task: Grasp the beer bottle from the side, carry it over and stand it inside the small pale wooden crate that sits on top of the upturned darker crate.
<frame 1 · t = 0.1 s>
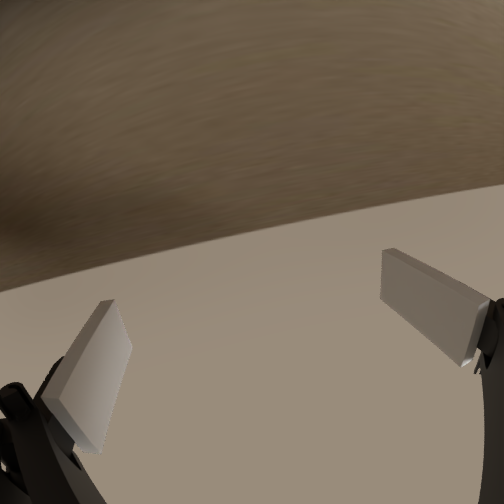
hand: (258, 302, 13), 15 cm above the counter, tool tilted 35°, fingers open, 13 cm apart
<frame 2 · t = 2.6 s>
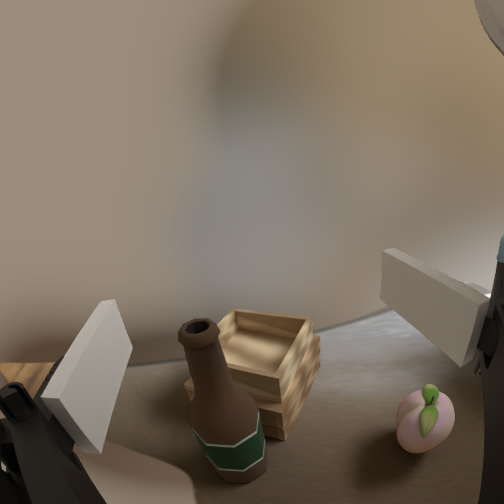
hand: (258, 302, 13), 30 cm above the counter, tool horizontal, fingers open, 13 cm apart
beer bottle: (241, 464, 31), on the counter
top crate: (256, 360, 43), resting on base crate
decorative fruit: (415, 441, 28), on the counter
base crate: (261, 390, 45), on the counter
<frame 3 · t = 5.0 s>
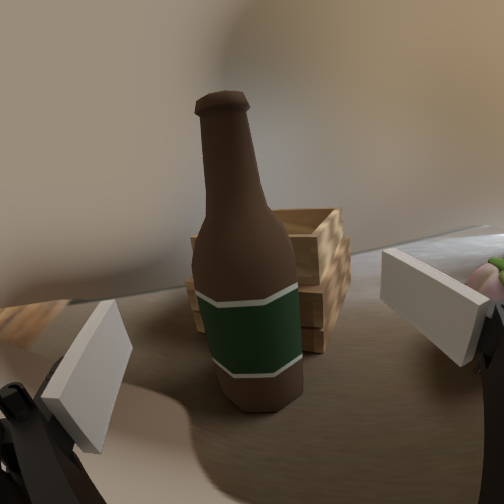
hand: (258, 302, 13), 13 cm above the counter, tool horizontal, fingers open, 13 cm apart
beer bottle: (264, 387, 24), on the counter
top crate: (277, 256, 36), resting on base crate
decorative fruit: (488, 344, 21), on the counter
base crate: (282, 305, 38), on the counter
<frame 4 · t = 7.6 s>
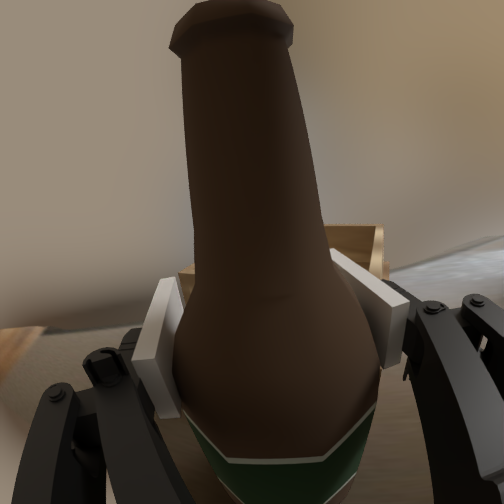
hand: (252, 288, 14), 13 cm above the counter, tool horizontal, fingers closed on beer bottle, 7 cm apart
beer bottle: (290, 488, 14), on the counter, touching gripper
top crate: (301, 294, 26), resting on base crate
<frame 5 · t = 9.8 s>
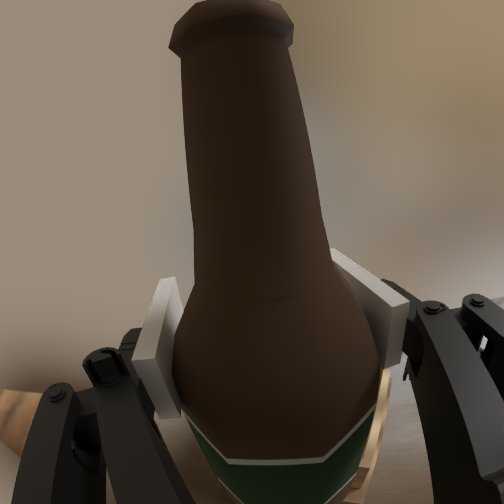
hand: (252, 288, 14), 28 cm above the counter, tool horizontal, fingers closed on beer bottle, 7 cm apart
beer bottle: (290, 488, 14), point 14 cm above the counter, touching gripper
top crate: (312, 422, 27), resting on base crate
base crate: (311, 452, 29), on the counter
when the fingers open (22 cm above the counter, at t = 12.3 s): beer bottle drops 1 cm, resting on top crate.
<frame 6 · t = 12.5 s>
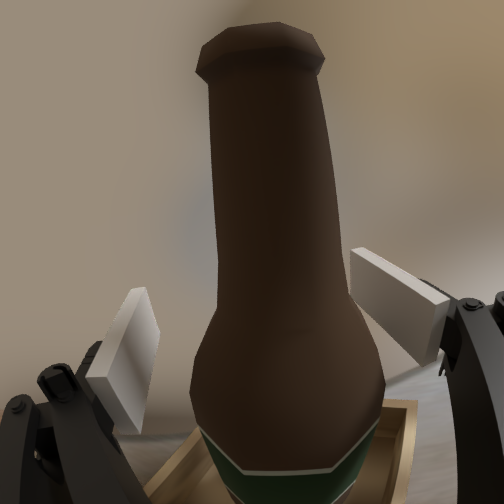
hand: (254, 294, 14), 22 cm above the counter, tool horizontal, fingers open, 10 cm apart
beer bottle: (290, 493, 14), point 8 cm above the counter, touching top crate
top crate: (291, 496, 14), resting on base crate
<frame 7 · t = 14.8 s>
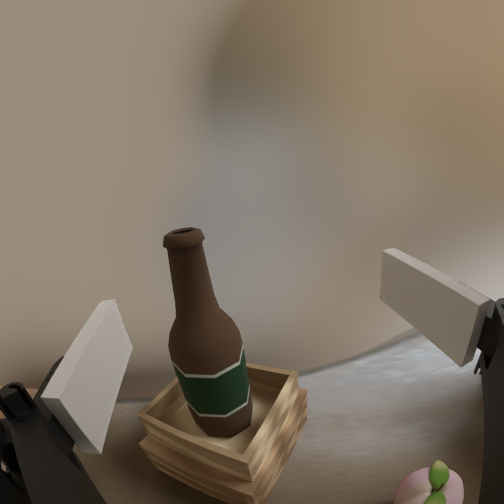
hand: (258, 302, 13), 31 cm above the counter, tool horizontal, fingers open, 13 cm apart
beer bottle: (225, 418, 31), point 8 cm above the counter, touching top crate
top crate: (225, 421, 32), resting on base crate
base crate: (234, 448, 34), on the counter
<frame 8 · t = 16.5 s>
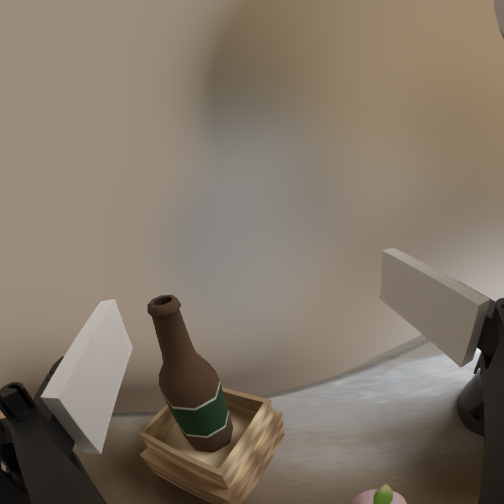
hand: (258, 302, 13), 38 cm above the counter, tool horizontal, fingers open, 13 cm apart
beer bottle: (210, 435, 36), point 8 cm above the counter, touching top crate
top crate: (211, 437, 36), resting on base crate
base crate: (220, 458, 38), on the counter
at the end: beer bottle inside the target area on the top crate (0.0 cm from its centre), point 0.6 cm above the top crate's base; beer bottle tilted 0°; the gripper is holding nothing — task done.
